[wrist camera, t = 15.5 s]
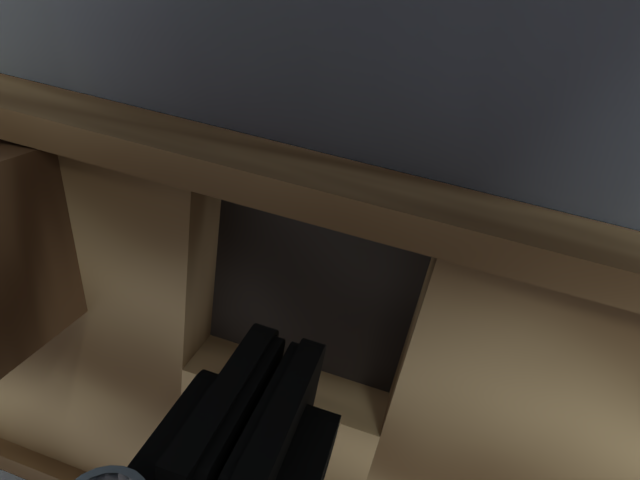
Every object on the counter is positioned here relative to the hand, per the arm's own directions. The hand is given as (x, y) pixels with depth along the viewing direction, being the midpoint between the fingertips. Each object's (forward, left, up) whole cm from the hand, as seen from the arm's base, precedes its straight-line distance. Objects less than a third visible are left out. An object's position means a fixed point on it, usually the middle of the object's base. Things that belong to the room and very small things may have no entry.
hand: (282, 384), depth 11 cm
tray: (+3, -4, -4) cm, 6 cm away
